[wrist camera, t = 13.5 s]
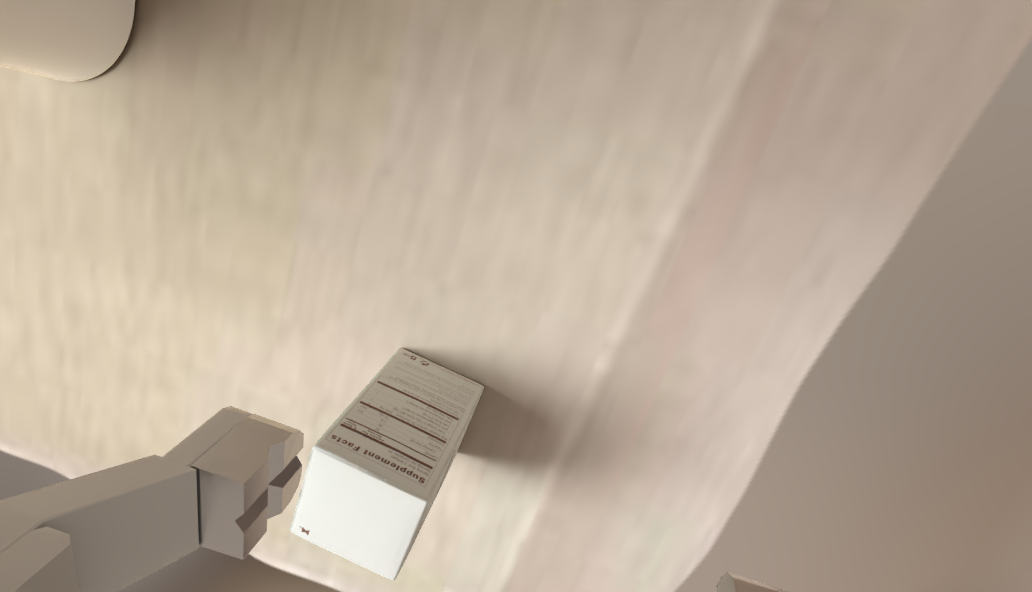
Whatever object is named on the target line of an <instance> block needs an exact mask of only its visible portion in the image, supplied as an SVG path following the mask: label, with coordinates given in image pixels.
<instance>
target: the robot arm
mask: <svg viewBox="0 0 1032 592" xmlns="http://www.w3.org/2000/svg"><path fill="white" fill-rule="evenodd" d="M134 11H135V0H0V67H6V68H11V69H16V70H20V71H25V72H29V73H33V74H37V75H41V76H44V77H48V78H51V79H55V80H59V81H67V82H77V81H84V80H88V79H91V78H94V77H96V76H98V75H100V74H101V73H103V72H104V71H106V70H107V69H108V68H109V67H110V66H112V65H113V63H114V62H115V61H116V60H117V59H118V57H119V56H120V54H121V53H122V51H123V49H124V47H125V45H126V43H127V41H128V38H129V35H130V32H131V28H132V24H133V18H134ZM303 435H304V434H303V433H302V432H301V431H300V430H297V429H294V428H292V427H289V426H286V425H283V424H281V423H278V422H275V421H272V420H270V419H267V418H264V417H261V416H259V415H256V414H251V413H249V412H246V411H243V410H240V409H238V408H235V407H232V406H230V407H226V408H223V409H221V410H220V411H219V412H218V413H216V414H215V415H214V416H213V417H211V418H210V419H209V420H208V421H206V422H205V423H204V424H203V425H201V426H200V427H199V428H198V429H196V430H195V431H194V432H193V433H191V434H190V435H189V436H188V437H186V438H185V439H184V440H183V441H182V442H180V443H179V444H178V445H177V446H175V447H174V448H173V449H172V450H170V451H169V452H168V453H167V454H165V455H164V456H163V457H160V456H157V455H152V456H149V457H146V458H142V459H139V460H135V461H132V462H129V463H125V464H122V465H118V466H115V467H112V468H108V469H105V470H101V471H98V472H95V473H91V474H88V475H84V476H81V477H78V478H74V479H71V480H67V481H64V482H61V483H57V484H54V485H51V486H47V487H44V488H40V489H37V490H34V491H30V492H27V493H23V494H20V495H17V496H13V497H10V498H6V499H3V500H0V592H117V591H119V590H121V589H123V588H124V587H126V586H128V585H130V584H132V583H134V582H136V581H138V580H140V579H142V578H144V577H145V576H147V575H149V574H151V573H153V572H155V571H157V570H158V569H161V568H162V567H165V566H166V565H168V564H170V563H172V562H174V561H176V560H178V559H180V558H182V557H184V556H185V555H187V554H189V553H191V552H193V551H195V550H197V549H199V546H203V547H206V548H209V549H212V550H215V551H218V552H221V553H224V554H227V555H230V556H233V557H236V558H239V559H244V558H245V557H246V556H247V555H248V553H249V552H250V551H251V550H252V548H253V547H254V546H255V545H256V544H257V542H258V541H259V540H260V539H261V537H262V536H263V535H264V534H265V533H266V531H267V519H269V518H271V517H273V516H276V515H278V514H281V513H282V512H283V510H284V509H285V508H286V506H287V505H288V504H289V503H290V501H291V499H292V497H293V495H294V493H295V492H296V490H297V488H298V485H299V481H300V478H301V472H302V464H301V462H300V461H299V459H298V457H297V456H296V455H297V454H298V453H299V451H300V450H301V449H302V448H303ZM717 592H788V591H783V590H782V589H779V588H775V587H772V586H769V585H766V584H763V583H760V582H757V581H754V580H751V579H747V578H744V577H741V576H738V575H735V574H732V573H728V572H727V573H726V574H724V575H723V576H722V577H721V579H720V581H719V582H718V584H717Z"/></svg>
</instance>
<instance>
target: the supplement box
mask: <svg viewBox="0 0 1032 592" xmlns="http://www.w3.org/2000/svg"><path fill="white" fill-rule="evenodd" d="M483 390H484V386H482V385H481V384H479V383H477V382H475V381H473V380H471V379H469V378H466V377H464V376H462V375H460V374H458V373H455V372H453V371H451V370H449V369H447V368H445V367H443V366H440V365H438V364H436V363H434V362H432V361H430V360H427V359H425V358H423V357H421V356H419V355H416V354H414V353H412V352H410V351H407V350H405V349H403V348H399V349H398V351H397V352H396V353H395V354H394V355H393V356H392V357H391V359H390V360H389V361H388V362H387V363H386V364H385V366H384V367H383V368H382V369H381V370H380V371H379V372H378V373H377V375H376V376H375V377H374V378H373V379H372V380H371V381H370V382H369V384H368V385H367V386H366V387H365V388H364V389H363V390H362V392H361V393H360V394H359V395H358V396H357V397H356V398H355V399H354V400H353V402H352V403H351V404H350V405H349V406H348V407H347V408H346V409H345V410H344V412H343V413H342V414H341V415H340V416H339V417H338V418H337V419H336V421H335V422H334V423H333V424H332V425H331V426H330V427H329V429H328V430H327V431H326V432H325V433H324V434H323V436H322V437H321V438H320V439H319V440H318V442H317V443H316V444H315V445H314V446H313V448H312V451H311V455H310V458H309V462H308V466H307V470H306V473H305V477H304V481H303V484H302V487H301V490H300V493H299V499H298V502H297V506H296V510H295V513H294V517H293V521H292V524H291V527H290V531H291V532H292V533H294V534H296V535H298V536H299V537H301V538H303V539H305V540H307V541H309V542H311V543H313V544H315V545H317V546H319V547H322V548H324V549H326V550H328V551H330V552H332V553H334V554H336V555H339V556H341V557H343V558H345V559H347V560H349V561H351V562H353V563H355V564H358V565H360V566H362V567H364V568H366V569H368V570H370V571H372V572H375V573H376V574H378V575H381V576H383V577H385V578H388V579H390V580H395V579H396V577H397V575H398V573H399V571H400V569H401V567H402V566H403V564H404V562H405V560H406V558H407V556H408V554H409V552H410V550H411V548H412V545H413V543H414V541H415V539H416V537H417V535H418V533H419V531H420V529H421V527H422V525H423V523H424V521H425V518H426V516H427V514H428V512H429V510H430V508H431V506H432V504H433V502H434V500H435V498H436V496H437V494H438V492H439V489H440V487H441V485H442V483H443V481H444V479H445V477H446V475H447V473H448V470H449V468H450V466H451V464H452V462H453V460H454V458H455V456H456V453H457V451H458V449H459V446H460V444H461V442H462V439H463V437H464V435H465V432H466V430H467V428H468V425H469V423H470V420H471V418H472V416H473V413H474V411H475V409H476V406H477V404H478V401H479V399H480V397H481V395H482V393H483Z"/></svg>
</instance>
